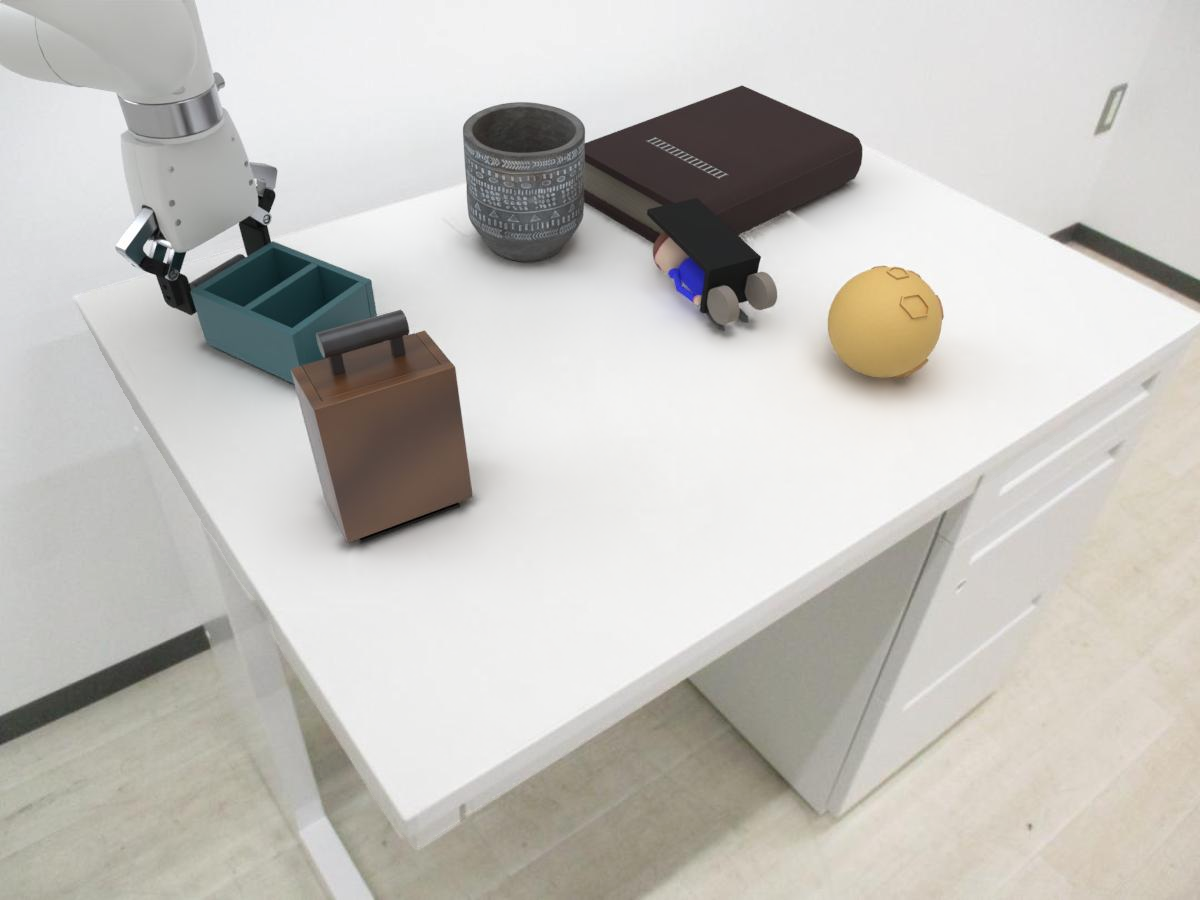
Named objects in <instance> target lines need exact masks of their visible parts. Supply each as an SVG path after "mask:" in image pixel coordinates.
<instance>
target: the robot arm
mask: <svg viewBox="0 0 1200 900" xmlns="http://www.w3.org/2000/svg"><path fill="white" fill-rule="evenodd" d="M201 23H202V22H201V19H200V16H199V12H198V8H197V4H196V0H0V65H1V66H2V67H3V68H5V69H7V70H9V72H10V71H11V72H12V73H14V74H17V75H20V76H22V77H25V78H28V79H31V80H35V81H41V82H45V83H46V82H47V83H54V84H59V85H64V86H70V87H74V88H75V87H76V88H88V89H94V90H100V91H104V92H105V91H106V92H111V93H116V97H117V99H118V102H119V103H118V104H119V106H120V108H121V112H122V114H123V117H124V122H125V124H126V126H127V130H125V131H124V132H122V133H120V148H121V149H120V150H121V159H122V167H123V172H124V178H125V183H126V187H127V191H128V196H129V200H130V204H131V208H132V210H133V214H134V217H135V218H134V220H133V221H132V222H131V223H130V225H129V226H128V227H127V229H126V230H125V232H124V233H123V235H122V236H121V237H120V238H119V240H118V241H117V242H116V244H115V251H116V252H117V253H118V254H119V255H120V256H122V257H123V258H124V259H125V260H126V261H127V262H129V263H130V264H131V265H132V267H135V268H136V269H139V270H142V271H144V272H146V273H148V274H151V275H154V276H155V277H156V280H157V282H158V286H159V288H160V291H161V294H162V297H163V300H164V302H165V303H166V305H168V306H169V307H171V308H173V309H176V310H178V311H179V312H182V313H184V314H187V315H189V316H193V315H195V314H197V311H196V308H195V305H194V302H193V299H192V295H191V292H190V291H191V288H190V284H189V283H190V281H189V278H188V276H186V275H185V274H184V273H181V271H182V266H183V265H184V261H185V258H186V254H187V252H190V251H192V250H194V249H195V248H198V247H199V246H201V245H203V244H205V243H206V242H208V241H210V240H211V239H213V238H215V237H217V236H218V235H220V234H222V233H224V232H226V231H227V230H229V229H230V228H232V227H234V226H236V225H238V228H239V232H240V235H241V239H242V243H243V246H244V250H245V254H246V257H247V256H249V255H251V254H252V253H254V252H256V251H257V250H259V249H261V248H262V247H264V246H265V245H267V244H269V243H271V242H272V240H271V235H270V231H269V228H268V225H270V224H271V222H272V220H273V217H272V214H271V210H272V207H273V205H274V202H275V200H276V196H277V195H276V192H275V189H276V186H277V185H276V184H277V179H278V178H277V177H278V168H277V167H275V166H272V165H270V164H267V163H263V162H254V161H253V162H252V161H249V157H248V155H247V154H248V153H247V152H246V151H247V150H246V149H245V146H244V144H243V141H242V138H241V135H240V133H239V132H238V129H237V127H236V125H235V123H234V121H233V119H232V117H231V114H230V113H229V111H228V110H227V109H226V108H225V107H223V106H222V101H221V99H220V95H219V91H220V90H221V89H223V88H225V86H226V81H225V79H224V77H223V75H222V74H221V73H220V72H216V71H215V72H213V67H212V64H211V59H210V55H209V52H208V47H207V44H206V43H207V42H206V39H205V35H204V31H203V27H202V24H201ZM255 179H256V180H255ZM148 241H149V242H150V241H152V243H151V246H150V250H149V253H148V255H147V253H146V252H145V251H144V246H145V244H146V243H147V242H148ZM168 249H169V250H170V251H169V254H168V257H167V260H166V262H164V261H165V257H166V254H167V251H168Z"/></svg>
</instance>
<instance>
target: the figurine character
mask: <svg viewBox="0 0 1200 900" xmlns="http://www.w3.org/2000/svg"><path fill="white" fill-rule="evenodd" d="M647 215H648V216H649V217H650V218H651V219H652V220H653V221H654V222H655V223H656V224H657V225H658V226H659V227H660V228H661V229H662V230H663V231H664V232H663V233H662V234H661V235H660V236H659V237H658V238H657V240H656V242H655V244H654V243H653V247H652V257H653V261H654V264H655V265H656V267H657V269H659V270H660V271H661V272H662V273H663V274H665V275H667V276H668V277H669V278H670V279H673V283H674V287H675V291H676V292H677V293H679V294H680V295H682V296H683V297H685V299H687V300H688V301H690V302H691V303H693V304H694V305H695V306H696V307H699V312H700V313H701V314H702V315H704V314H705V316H707V318H708V319H709V320H710V321H711V322H712V323H713V324H714V326H716V328H717V329H718V330H720V331H725V325H726V324H729V323H733V322H736V321H737V320H739V321H740V322H742V323H749V315H748V314H746V312H744V310H743V309H742V308H741V307H740V304H742V303H747V302H748V304H749V305H750V306H751V307H752V308H753V309H755V310H757V311H762V310H766V309H768V308H772V307H774V306H775V305H776V303H777V300H778V290H777V286H776V283H775V281H774V279H773V278H772V276H771V275H770V274H769V273H767V272H765V271H759V268H760V262H761V258H762V256H761V255H760V254H759V253H758V252H757V251H755V249H754V248H752V246H750V245H749V244H748V243H747V242H746V241H745V240H744V239H743V238H741V237H740V236H739V235H737V234H736V233H735V232H734V231H733V230H732V229H730V228H729V227H728V226H727V225H726V224H725V223H724V222H723V221H722V220H721V219H720V218H718V217H717V216H716V215H715V214H714V213H713V212H712V211H711V210H710V209H709V208H708V207H707V206H705V205H704V204H703V203H702V202H701V201H700V200H699V199H698V198H694V199H690V200H685V201H681V202H677V203H673V204H668V205H664V206H660V207H655V208H651V209H648V210H647Z"/></svg>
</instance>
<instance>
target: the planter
mask: <svg viewBox="0 0 1200 900" xmlns="http://www.w3.org/2000/svg"><path fill="white" fill-rule="evenodd" d="M462 140H463V157H464V171H465V182H466V205H467V215H468V219H469V221H470V223H471V224H472V226H473V228H474V229H475V231H476V232H477V234H478V235H479V237H480V238H481V239H482V240H483V241H484V243H485V244H486V245H487V246H488V247H489V248H490V250H491V251H492V252H494V253H495V254H496V255H497V256H499V257H502V258H504V259H507V260H510V261H515V262H524V263H525V262H526V263H527V262H528V263H529V262H537V261H538V262H539V261H543V260H544V261H545V260H547V259H551V258H552V257H554V256H556V255H557V254H559V253H561V251H562V250H563V249H564V247H566V245H567V243H568V242H569V241H570V240H571V238H572V237H573V235H574V234H575V233H576V231H577V230H578V228H579V227H580V225H581V223H582V221H583V219H584V211H585V202H584V169H585V143H586V128H585V124H584V123H583V122H582V120H581V119H580V118H579V117H578V116H576V115H575V114H574V113H571V112H570V111H569V110H566V109H563V108H560V107H556V106H553V105H549V104H543V103H538V102H526V101H525V102H523V101H521V102H519V101H518V102H516V101H515V102H507V103H506V102H505V103H500V104H495V105H492V106H489V107H486V108H484V109H481V110H479V111H477V112H476V113H474V114H471V116H470V117H468V118H467V120H465V122H464V124H463V126H462Z"/></svg>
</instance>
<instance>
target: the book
mask: <svg viewBox="0 0 1200 900" xmlns="http://www.w3.org/2000/svg"><path fill="white" fill-rule="evenodd" d="M862 162H863V145H862V143H861V140H860V138H858V137H857V136H856V135H855V134H853V133H851V132H849V131H847V130H845V129H843V128H840V127H838V126H836V125H833V124H832V123H829V122H827V121H825V120H822V119H820V118H817V117H816V116H813V115H811V114H808V113H807V112H804V111H802V110H799V109H797V108H795V107H792V106H790V105H788V104H786V103H783V102H781V101H779V100H777V99H774V98H772V97H770V96H767V95H765V94H763V93H761V92H759V91H756V90H754V89H752V88H749V87H747V86H744V85H738V86H736V87H734V88H731V89H728V90H725V91H723V92H720V93H718V94H714V95H712V96H709V97H706V98H703V99H702V100H698V101H696V102H692V103H690V104H688V105H685V106H683V107H679V108H676V109H673V110H671V111H668V112H666V113H663V114H660V115H657V116H654V117H652V118H650V119H649V118H648V119H646V120H644V121H641V122H639V123H636V124H633V125H630V126H628V127H625V128H622V129H619V130H617V131H614V132H612V133H609V134H606V135H603V136H600V137H598V138H595V139H593V140H592V139H591V140H590V141H587V142H585V169H584V204H587V205H589V206H591V207H592V208H593V209H595V210H597V211H598V212H601V214H604V215H605V216H607V217H609V218H611V219H612V220H614V221H616V222H617V223H619V224H620V225H622V226H624V227H625V228H627V229H629V230H631V231H632V232H633V233H636V234H637V235H639V236H641V237H642V238H644V239H645V240H647V241H649V242H650V243H652V244H653V245H654V244H655V242H656V240H657V238H658V237H659V236H660V235H661V234H662V233H663V232H664V231H663V230H662V229H661V228H660V227H659V226H658V225H657V224H656V223H655V222H654V221H653V220H652V219H651V218H650V217H649V216H648V215H647V210H648V209H651V208H655V207H660V206H664V205H668V204H673V203H677V202H681V201H685V200H690V199H694V198H698V199H699V200H700V201H701V202H702V203H703V204H704V205H705V206H707V207H708V208H709V209H710V210H711V211H712V212H713V213H714V214H715V215H716V216H717V217H718V218H720V219H721V220H722V221H723V222H724V223H725V224H726V225H727V226H728V227H729V228H730V229H732V230H733V231H734V232H735V233H736V234H737V235H738V236H739V235H741V234H744V233H746V232H748V231H750V230H752V229H754V228H756V227H758V226H760V225H763V224H764V223H767V222H768V221H770V220H772V219H775V218H777V217H779V216H781V215H784V214H785V213H787V212H789V211H791V210H793V209H795V208H797V207H799V206H801V205H804V204H806V203H808V202H810V201H812V200H814V199H816V198H819V197H820V196H823V195H825V194H827V193H829V192H831V191H832V190H834V189H837V188H839V187H841V186H843V185H845V184H847V183H849V182H851V181H853V180H855V179H856V177H857V175H858V173H859V171H860V169H861V166H862Z"/></svg>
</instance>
